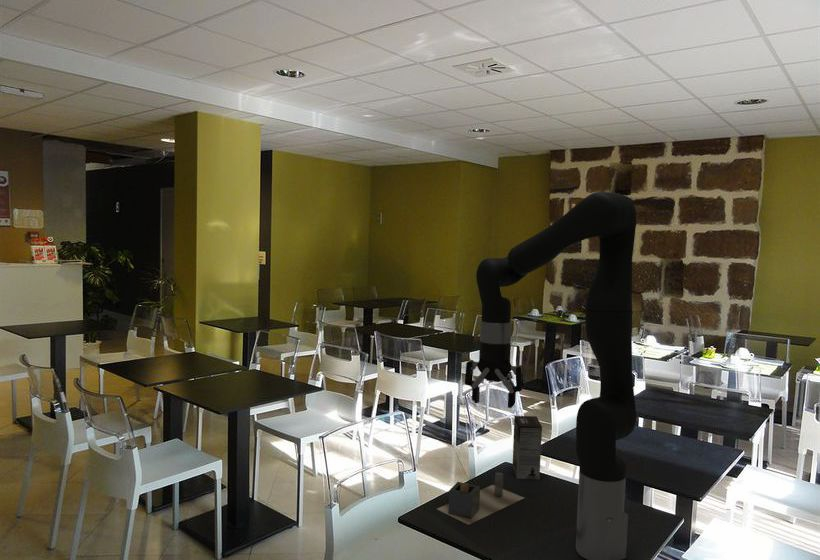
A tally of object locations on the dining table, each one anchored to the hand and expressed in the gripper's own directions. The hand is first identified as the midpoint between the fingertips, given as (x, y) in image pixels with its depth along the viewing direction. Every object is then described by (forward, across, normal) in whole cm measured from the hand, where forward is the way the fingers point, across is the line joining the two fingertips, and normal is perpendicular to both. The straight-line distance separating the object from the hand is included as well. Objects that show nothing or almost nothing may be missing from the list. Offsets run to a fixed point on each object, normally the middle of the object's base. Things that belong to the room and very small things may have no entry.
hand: (493, 405), depth 146 cm
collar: (+23, +3, +11) cm, 26 cm away
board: (+24, +1, +5) cm, 25 cm away
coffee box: (+25, -5, -19) cm, 31 cm away
